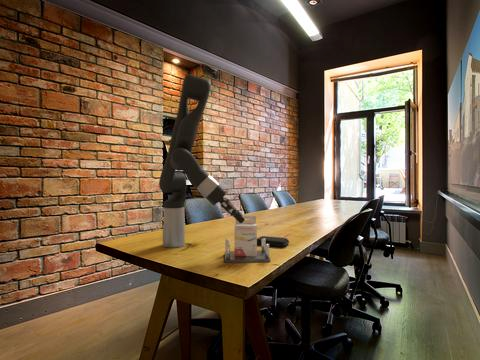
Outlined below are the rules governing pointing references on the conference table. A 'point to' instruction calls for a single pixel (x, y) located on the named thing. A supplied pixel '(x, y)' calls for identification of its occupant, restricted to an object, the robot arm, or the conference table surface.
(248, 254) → the ink cartridge box
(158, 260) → the conference table surface
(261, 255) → the standoff plate
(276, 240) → the carrying case or bag
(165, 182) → the robot arm
